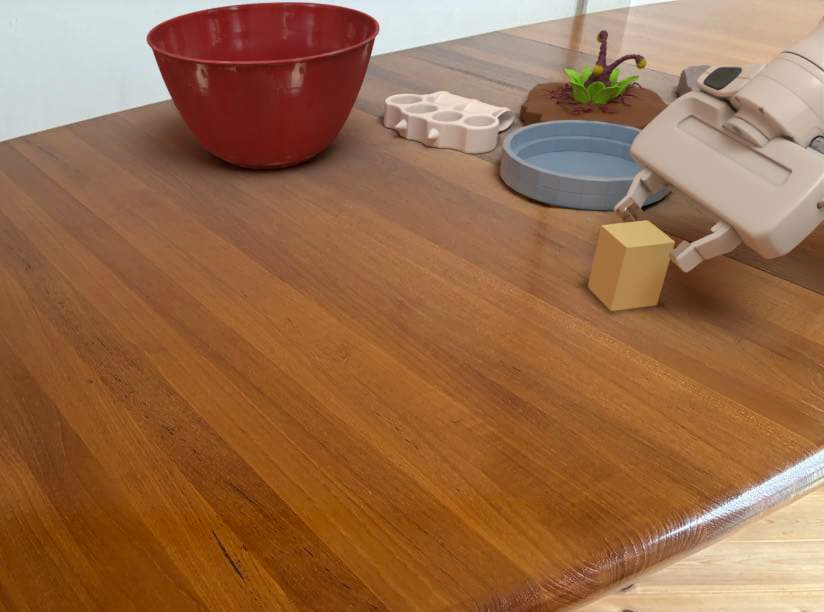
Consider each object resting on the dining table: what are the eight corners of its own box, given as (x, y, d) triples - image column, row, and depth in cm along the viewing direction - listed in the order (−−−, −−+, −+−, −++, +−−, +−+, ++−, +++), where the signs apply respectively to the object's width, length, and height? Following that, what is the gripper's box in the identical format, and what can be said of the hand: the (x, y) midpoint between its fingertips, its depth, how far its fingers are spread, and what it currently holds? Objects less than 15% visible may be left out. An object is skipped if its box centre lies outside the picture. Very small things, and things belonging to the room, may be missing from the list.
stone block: (734, 104, 124) (669, 88, 124) (752, 72, 121) (684, 56, 121) (752, 134, 115) (681, 117, 115) (771, 101, 112) (698, 83, 112)
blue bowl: (656, 154, 104) (664, 123, 102) (683, 220, 89) (694, 185, 87) (498, 147, 108) (503, 117, 105) (499, 209, 93) (504, 175, 90)
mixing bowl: (203, 211, 95) (190, 72, 85) (135, 135, 116) (119, 16, 106) (414, 167, 103) (423, 36, 94) (315, 104, 124) (315, -8, 115)
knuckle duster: (531, 134, 111) (462, 163, 104) (430, 105, 122) (361, 129, 115) (535, 109, 109) (465, 137, 102) (432, 81, 120) (362, 104, 113)
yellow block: (630, 288, 78) (647, 219, 74) (655, 312, 74) (675, 241, 70) (585, 293, 77) (601, 224, 73) (609, 317, 74) (626, 247, 70)
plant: (653, 98, 122) (673, 17, 115) (680, 145, 107) (704, 54, 100) (515, 95, 125) (526, 15, 118) (522, 140, 110) (535, 52, 103)
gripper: (893, 192, 61) (733, 319, 66) (728, 107, 77) (608, 214, 82) (865, 138, 58) (698, 275, 63) (698, 61, 74) (575, 175, 79)
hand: (646, 240), depth 72 cm, fingers open, 8 cm apart
